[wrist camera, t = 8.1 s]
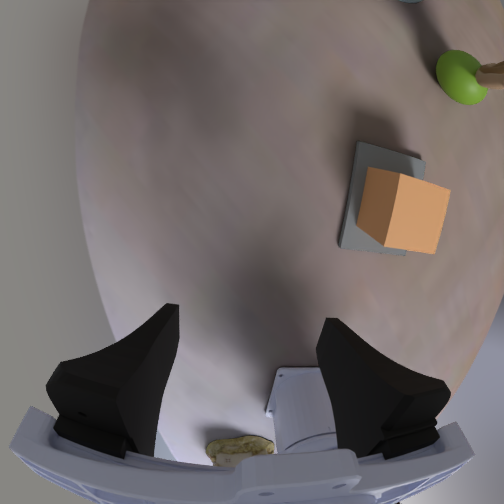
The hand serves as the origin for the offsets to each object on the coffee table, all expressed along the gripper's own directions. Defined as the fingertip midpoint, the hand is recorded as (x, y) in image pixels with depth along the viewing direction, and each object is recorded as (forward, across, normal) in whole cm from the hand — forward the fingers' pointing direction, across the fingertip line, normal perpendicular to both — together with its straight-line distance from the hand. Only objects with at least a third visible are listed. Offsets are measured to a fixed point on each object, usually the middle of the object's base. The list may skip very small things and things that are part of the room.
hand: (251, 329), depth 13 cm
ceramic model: (+11, -3, +36) cm, 37 cm away
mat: (+10, -11, -6) cm, 16 cm away
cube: (+10, -11, -6) cm, 16 cm away
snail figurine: (+11, -16, -20) cm, 28 cm away
